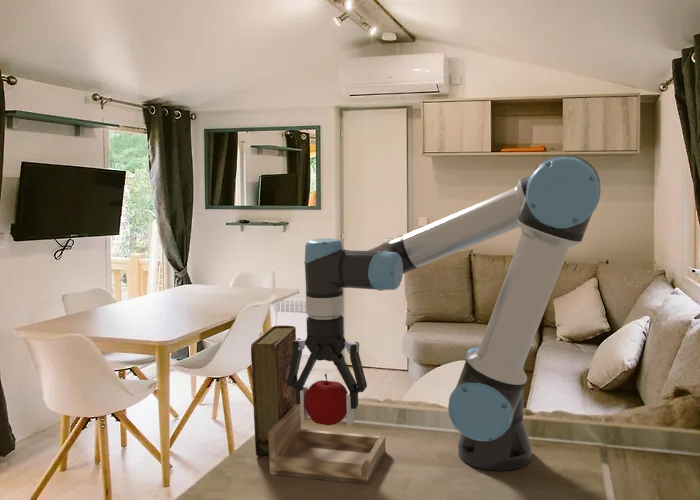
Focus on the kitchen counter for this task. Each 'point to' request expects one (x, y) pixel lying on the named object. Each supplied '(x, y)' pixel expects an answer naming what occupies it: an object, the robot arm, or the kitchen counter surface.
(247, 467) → the kitchen counter surface
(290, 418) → the tray
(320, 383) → the apple
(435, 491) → the kitchen counter surface
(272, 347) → the book
